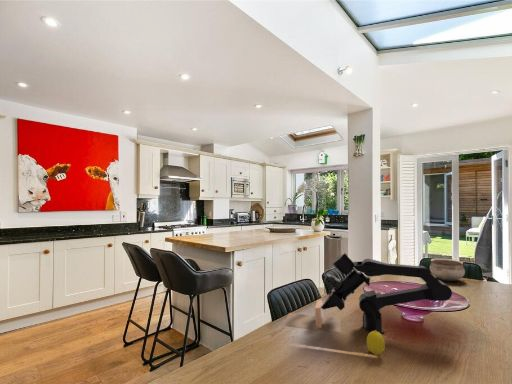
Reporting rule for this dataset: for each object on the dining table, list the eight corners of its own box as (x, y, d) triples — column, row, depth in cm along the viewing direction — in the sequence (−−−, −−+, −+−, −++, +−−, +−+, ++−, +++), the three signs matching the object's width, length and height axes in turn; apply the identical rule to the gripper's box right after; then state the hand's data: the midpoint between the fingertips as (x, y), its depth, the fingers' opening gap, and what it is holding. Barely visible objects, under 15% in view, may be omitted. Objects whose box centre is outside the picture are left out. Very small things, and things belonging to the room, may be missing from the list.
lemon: (369, 349, 99) (369, 325, 99) (387, 355, 95) (386, 330, 96) (364, 356, 94) (363, 331, 95) (382, 362, 91) (381, 336, 91)
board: (340, 320, 123) (340, 318, 123) (340, 334, 110) (340, 332, 110) (289, 314, 129) (289, 312, 129) (282, 327, 116) (282, 325, 116)
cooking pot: (445, 286, 174) (444, 265, 175) (419, 278, 192) (419, 259, 193) (476, 282, 181) (475, 263, 182) (448, 275, 200) (448, 257, 200)
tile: (323, 318, 123) (322, 300, 124) (321, 327, 114) (320, 308, 114) (318, 317, 124) (317, 300, 124) (316, 327, 114) (314, 308, 115)
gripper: (336, 263, 127) (310, 286, 129) (335, 273, 109) (305, 299, 112) (355, 283, 124) (328, 306, 127) (357, 296, 106) (326, 323, 109)
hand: (322, 308), depth 119 cm, fingers closed
